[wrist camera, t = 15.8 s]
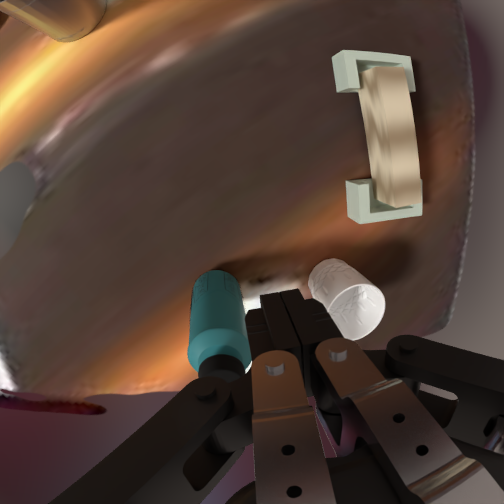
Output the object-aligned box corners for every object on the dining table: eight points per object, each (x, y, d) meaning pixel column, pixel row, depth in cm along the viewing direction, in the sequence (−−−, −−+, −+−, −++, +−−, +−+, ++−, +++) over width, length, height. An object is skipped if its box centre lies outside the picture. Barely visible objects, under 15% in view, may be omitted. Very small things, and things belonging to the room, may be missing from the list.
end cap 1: (331, 57, 34) (343, 50, 31) (395, 61, 35) (410, 56, 31) (336, 92, 36) (348, 87, 32) (400, 94, 37) (415, 91, 33)
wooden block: (354, 74, 34) (376, 66, 29) (380, 74, 35) (403, 67, 29) (373, 198, 40) (396, 207, 35) (397, 194, 41) (421, 202, 35)
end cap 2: (407, 208, 43) (422, 215, 39) (347, 216, 42) (359, 224, 38) (406, 175, 41) (422, 179, 37) (345, 180, 40) (358, 184, 36)
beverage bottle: (186, 272, 42) (168, 369, 23) (233, 257, 42) (248, 349, 23) (202, 311, 44) (199, 419, 26) (247, 298, 44) (269, 401, 26)
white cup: (353, 249, 44) (386, 277, 34) (354, 297, 46) (383, 331, 37) (301, 259, 43) (324, 292, 34) (306, 308, 46) (326, 347, 37)
